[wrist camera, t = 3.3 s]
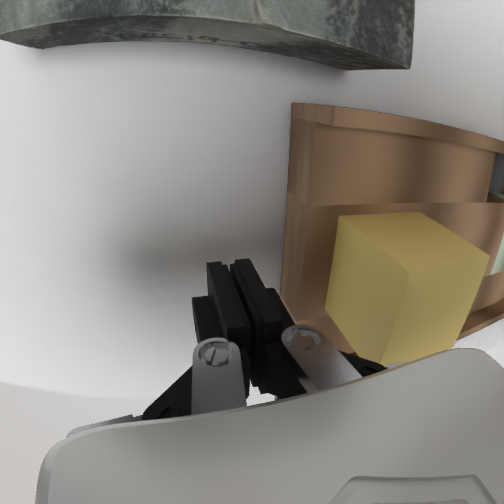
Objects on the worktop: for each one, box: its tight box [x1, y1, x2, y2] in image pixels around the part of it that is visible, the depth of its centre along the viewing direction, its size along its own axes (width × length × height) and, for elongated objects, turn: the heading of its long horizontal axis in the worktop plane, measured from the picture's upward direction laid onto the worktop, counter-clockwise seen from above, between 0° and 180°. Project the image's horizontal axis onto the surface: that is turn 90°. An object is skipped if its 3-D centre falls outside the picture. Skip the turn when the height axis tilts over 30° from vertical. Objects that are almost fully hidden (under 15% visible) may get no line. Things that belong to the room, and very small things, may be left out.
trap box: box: [280, 103, 504, 357], centre depth 17 cm, size 24×14×4 cm, turn 89°
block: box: [324, 212, 490, 367], centre depth 13 cm, size 5×5×5 cm
